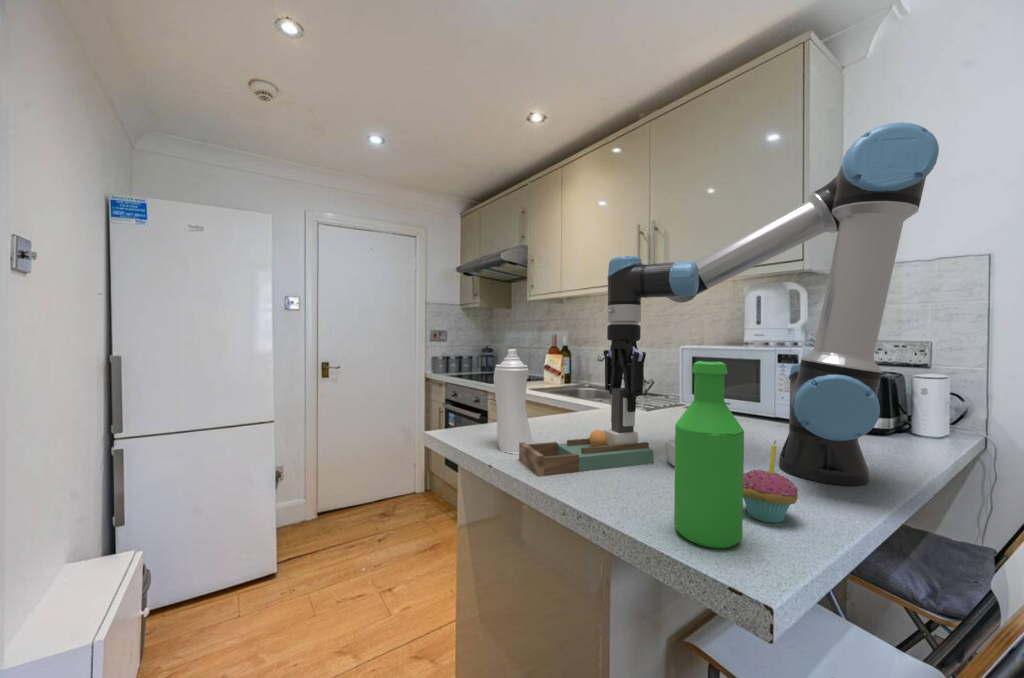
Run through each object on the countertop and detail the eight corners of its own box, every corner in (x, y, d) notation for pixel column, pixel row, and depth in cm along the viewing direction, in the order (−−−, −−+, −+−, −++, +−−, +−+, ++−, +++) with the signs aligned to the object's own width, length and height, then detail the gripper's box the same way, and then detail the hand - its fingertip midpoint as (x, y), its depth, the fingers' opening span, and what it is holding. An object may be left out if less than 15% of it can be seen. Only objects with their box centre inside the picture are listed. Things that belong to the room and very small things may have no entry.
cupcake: (756, 502, 71) (757, 433, 71) (810, 522, 63) (811, 445, 63) (724, 511, 67) (725, 438, 67) (777, 534, 60) (778, 451, 59)
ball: (610, 449, 93) (610, 431, 93) (595, 450, 91) (595, 432, 91) (600, 444, 96) (601, 427, 96) (585, 445, 95) (586, 428, 95)
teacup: (665, 469, 88) (666, 444, 88) (664, 459, 95) (664, 436, 95) (717, 475, 85) (717, 449, 85) (711, 464, 92) (712, 440, 92)
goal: (578, 471, 86) (579, 452, 86) (538, 476, 83) (538, 456, 83) (555, 456, 97) (555, 439, 97) (519, 460, 94) (519, 442, 93)
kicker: (637, 445, 95) (638, 389, 95) (615, 448, 93) (616, 390, 92) (624, 440, 99) (625, 387, 99) (603, 442, 97) (604, 387, 97)
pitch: (653, 463, 92) (653, 449, 92) (578, 471, 86) (578, 457, 86) (624, 450, 103) (624, 438, 103) (555, 456, 96) (555, 444, 96)
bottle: (750, 536, 59) (753, 362, 58) (729, 559, 52) (732, 364, 52) (688, 517, 65) (690, 359, 65) (663, 535, 59) (665, 361, 59)
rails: (648, 447, 94) (648, 442, 94) (583, 454, 88) (583, 448, 88) (628, 439, 101) (628, 435, 101) (566, 445, 96) (567, 440, 96)
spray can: (482, 450, 101) (484, 349, 101) (500, 440, 111) (501, 348, 111) (526, 456, 97) (528, 350, 97) (541, 445, 107) (542, 349, 107)
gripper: (590, 324, 103) (589, 417, 103) (632, 322, 87) (631, 432, 87) (616, 325, 105) (615, 415, 105) (661, 323, 89) (660, 430, 89)
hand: (622, 423), depth 96 cm, fingers open, 4 cm apart
